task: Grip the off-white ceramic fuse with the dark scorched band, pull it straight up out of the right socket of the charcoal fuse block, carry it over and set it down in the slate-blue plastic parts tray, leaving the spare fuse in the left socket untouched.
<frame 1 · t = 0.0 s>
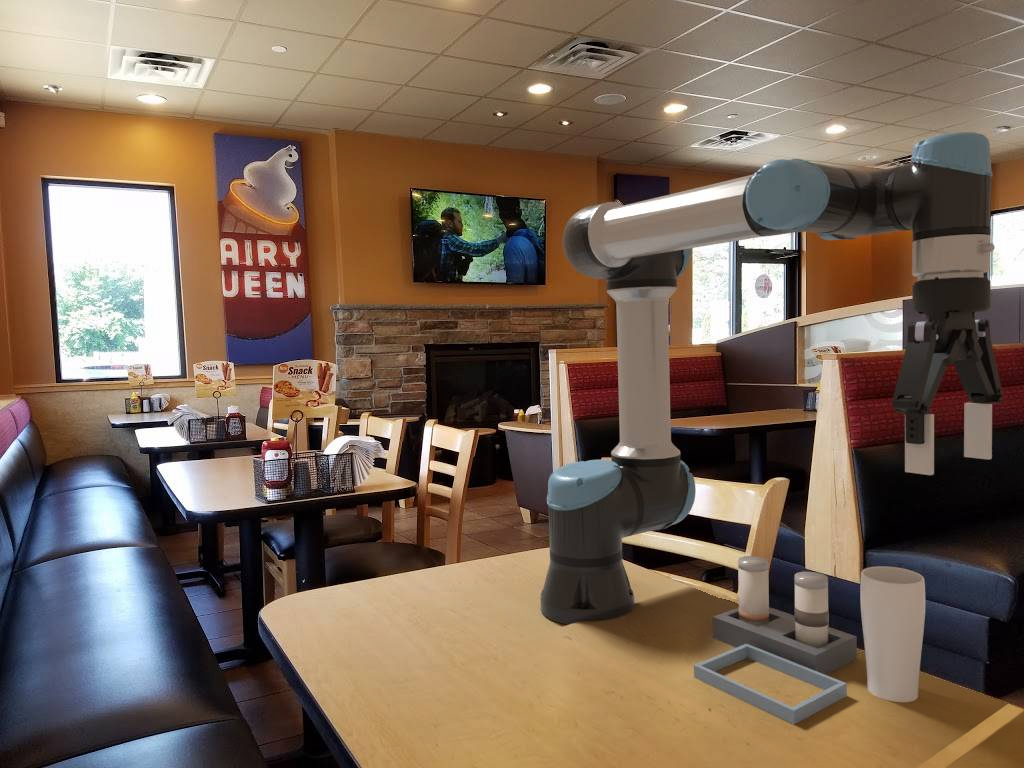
hand: (949, 465, 83), 28 cm above the table, fingers open, 13 cm apart
fuse block: (782, 654, 99), on the table
drinking glass: (892, 700, 86), on the table
blown fuse: (811, 659, 95), point 1 cm above the table, touching fuse block
parts tray: (767, 693, 89), on the table
spare fuse: (754, 637, 103), point 1 cm above the table, touching fuse block
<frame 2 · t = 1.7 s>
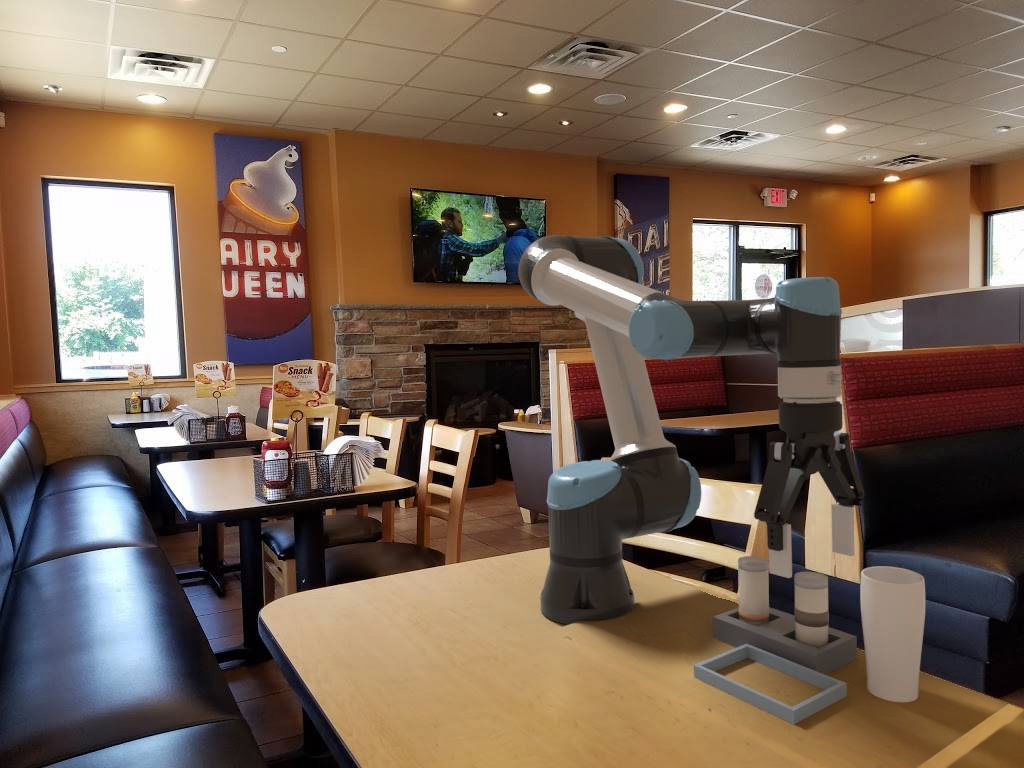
hand: (813, 564, 94), 14 cm above the table, fingers open, 13 cm apart
nothing on the table moved.
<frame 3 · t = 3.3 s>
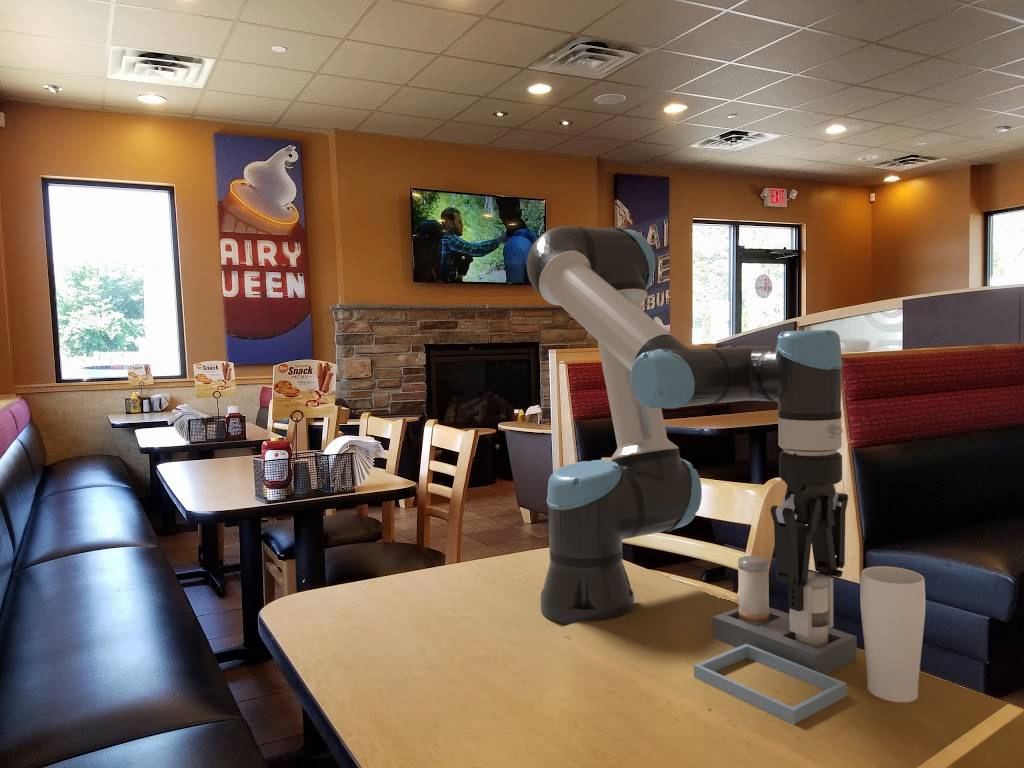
hand: (811, 628, 95), 5 cm above the table, fingers closed on blown fuse, 4 cm apart
blown fuse: (811, 659, 95), point 1 cm above the table, touching fuse block, gripper
everything else where it was.
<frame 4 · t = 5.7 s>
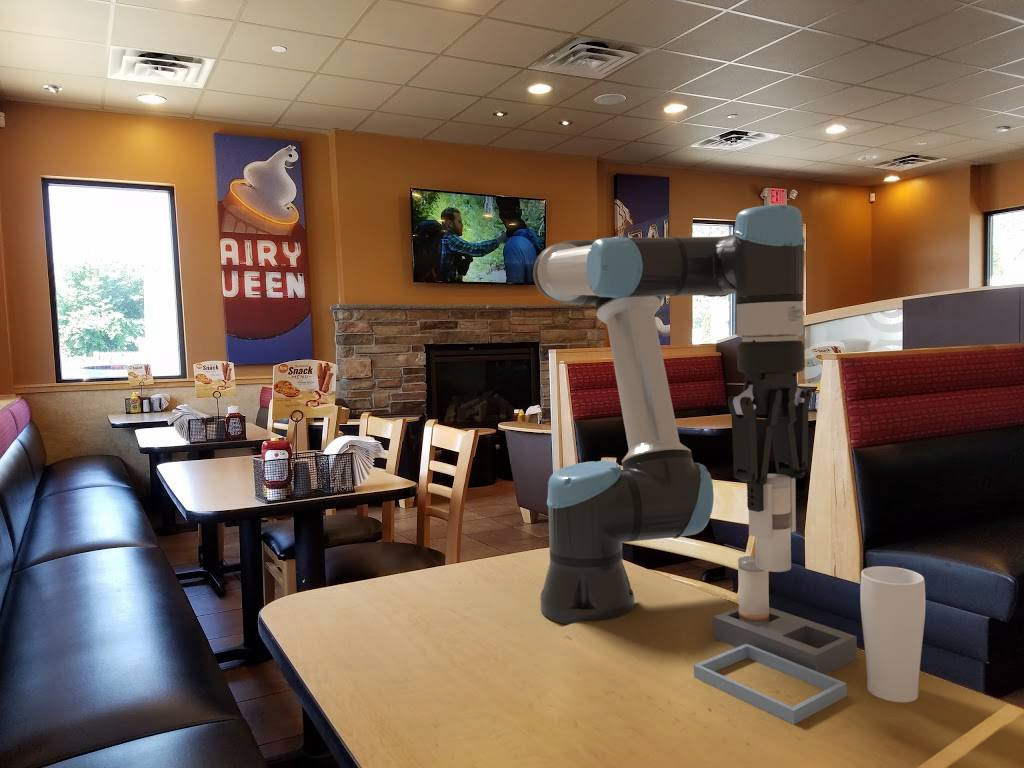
hand: (772, 532, 88), 20 cm above the table, fingers closed on blown fuse, 4 cm apart
blown fuse: (773, 566, 88), point 15 cm above the table, touching gripper
everything else where it was.
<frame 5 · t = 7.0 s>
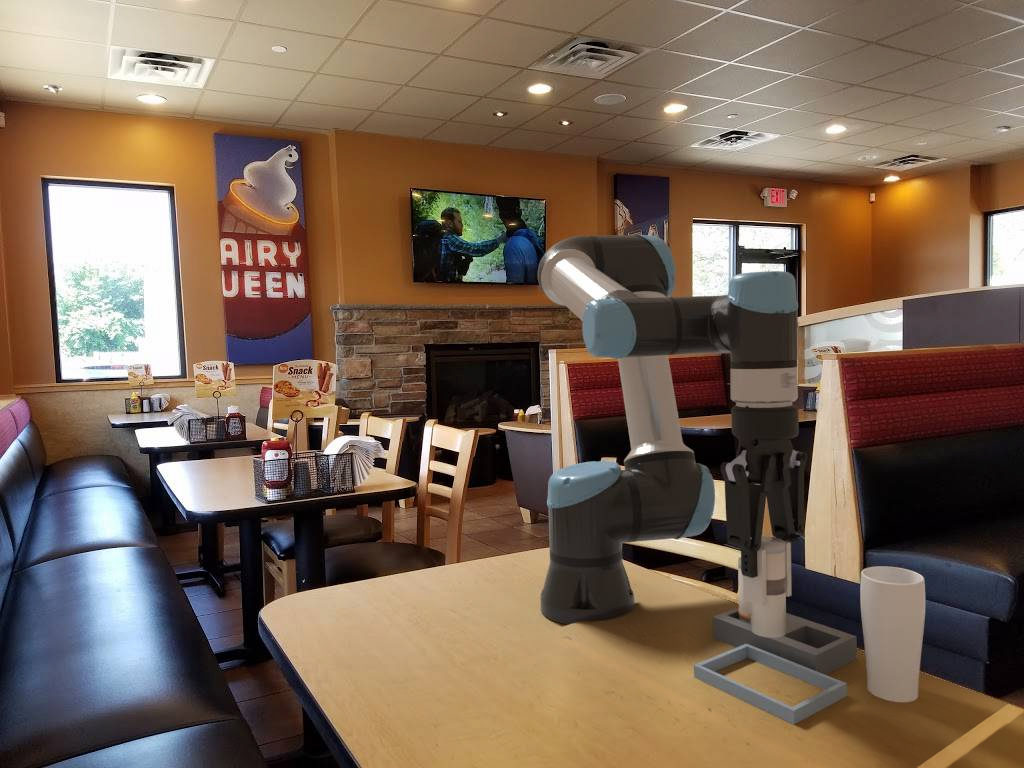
hand: (767, 597, 88), 12 cm above the table, fingers closed on blown fuse, 4 cm apart
blown fuse: (768, 631, 88), point 8 cm above the table, touching gripper
everything else where it was.
when the fingers open (6 cm above the table, at t = 8.1 s): blown fuse drops 1 cm, resting on parts tray.
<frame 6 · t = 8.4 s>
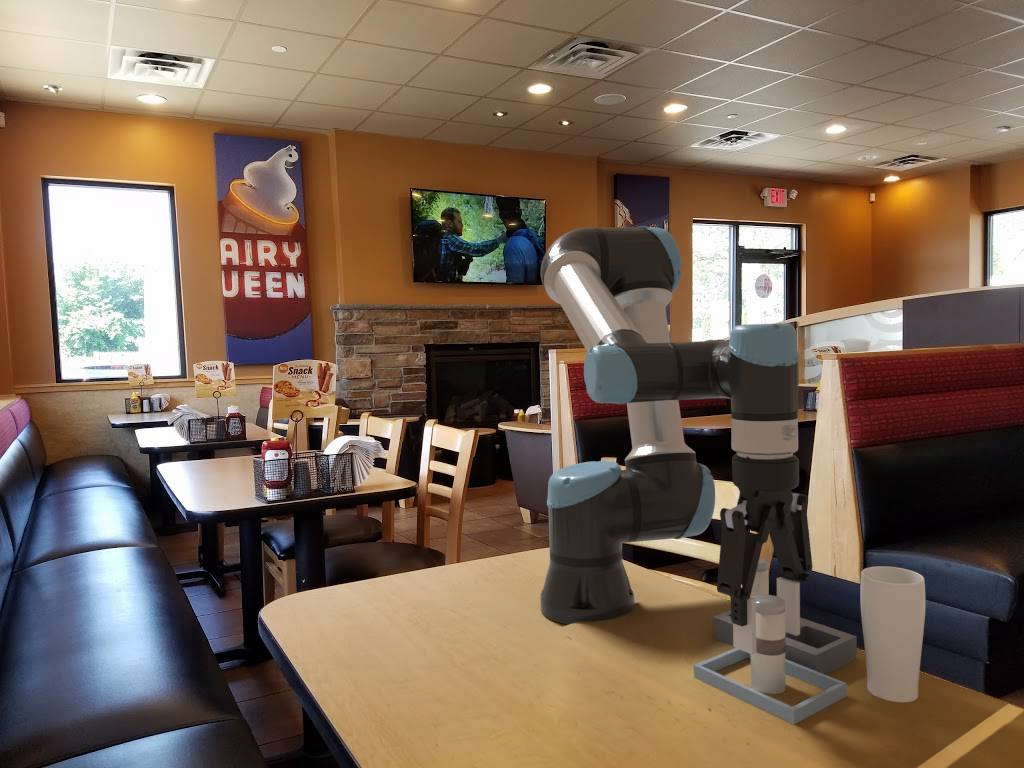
hand: (767, 640, 88), 7 cm above the table, fingers open, 8 cm apart
blown fuse: (768, 689, 89), point 1 cm above the table, touching parts tray
everything else where it was.
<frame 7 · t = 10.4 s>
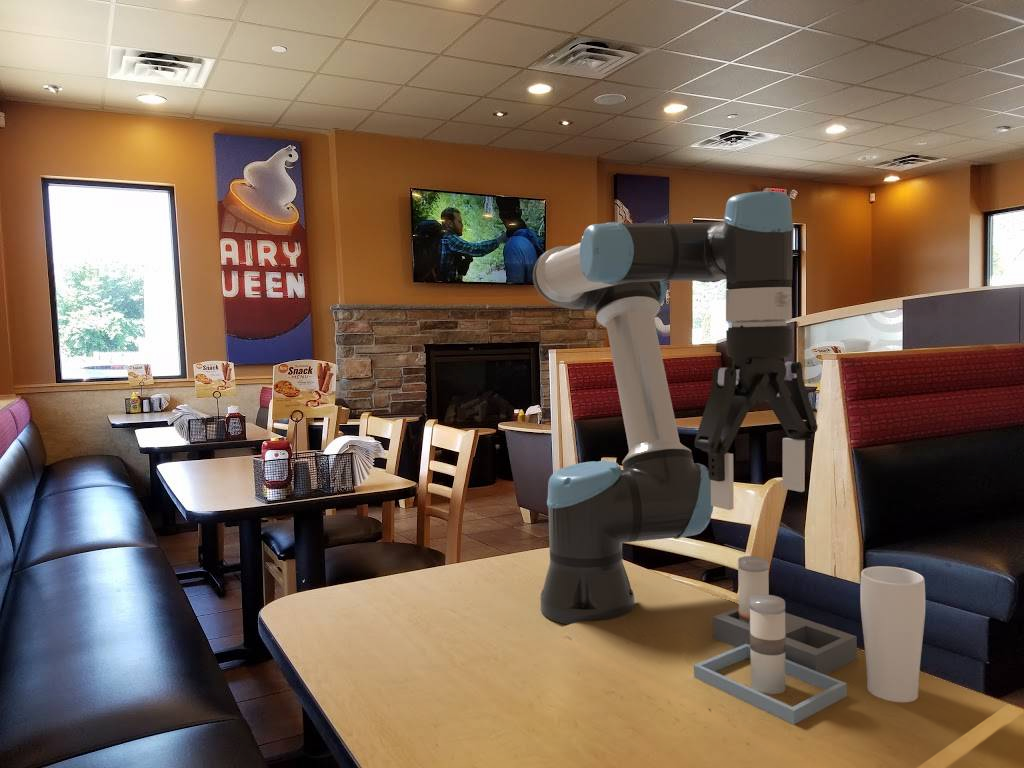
hand: (759, 498, 90), 24 cm above the table, fingers open, 13 cm apart
nothing on the table moved.
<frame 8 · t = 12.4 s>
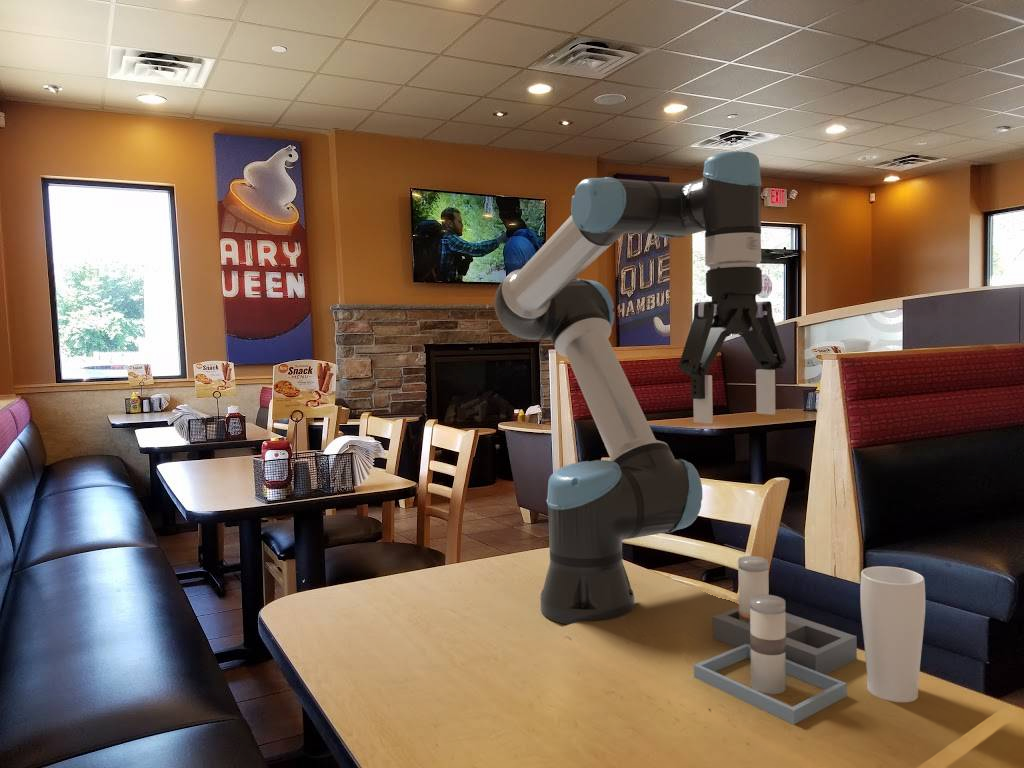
hand: (735, 418, 103), 32 cm above the table, fingers open, 13 cm apart
nothing on the table moved.
at the end: blown fuse inside the target area on the parts tray (0.0 cm from its centre), point 0.6 cm above the parts tray's base; blown fuse touching parts tray; the gripper is holding nothing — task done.
